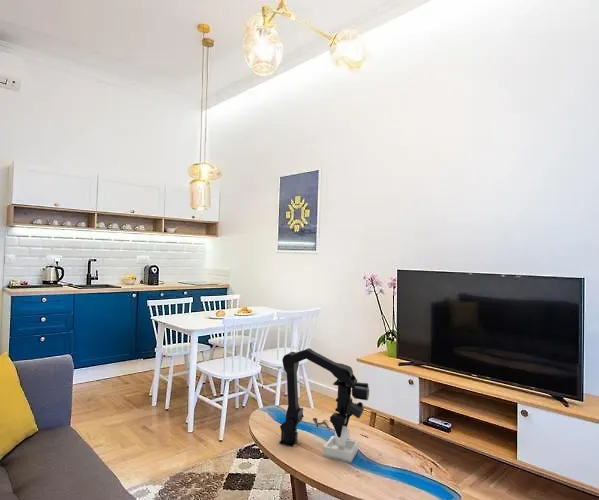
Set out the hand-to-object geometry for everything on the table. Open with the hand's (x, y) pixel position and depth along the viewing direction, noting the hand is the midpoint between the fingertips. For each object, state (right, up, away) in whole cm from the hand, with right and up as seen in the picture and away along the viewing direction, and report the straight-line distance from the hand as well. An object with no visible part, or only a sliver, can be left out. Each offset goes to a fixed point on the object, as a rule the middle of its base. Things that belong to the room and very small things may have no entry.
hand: (342, 433), depth 178 cm
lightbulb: (0, -8, 0) cm, 8 cm away
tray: (-1, -9, 0) cm, 9 cm away
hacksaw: (-4, -10, +25) cm, 27 cm away
